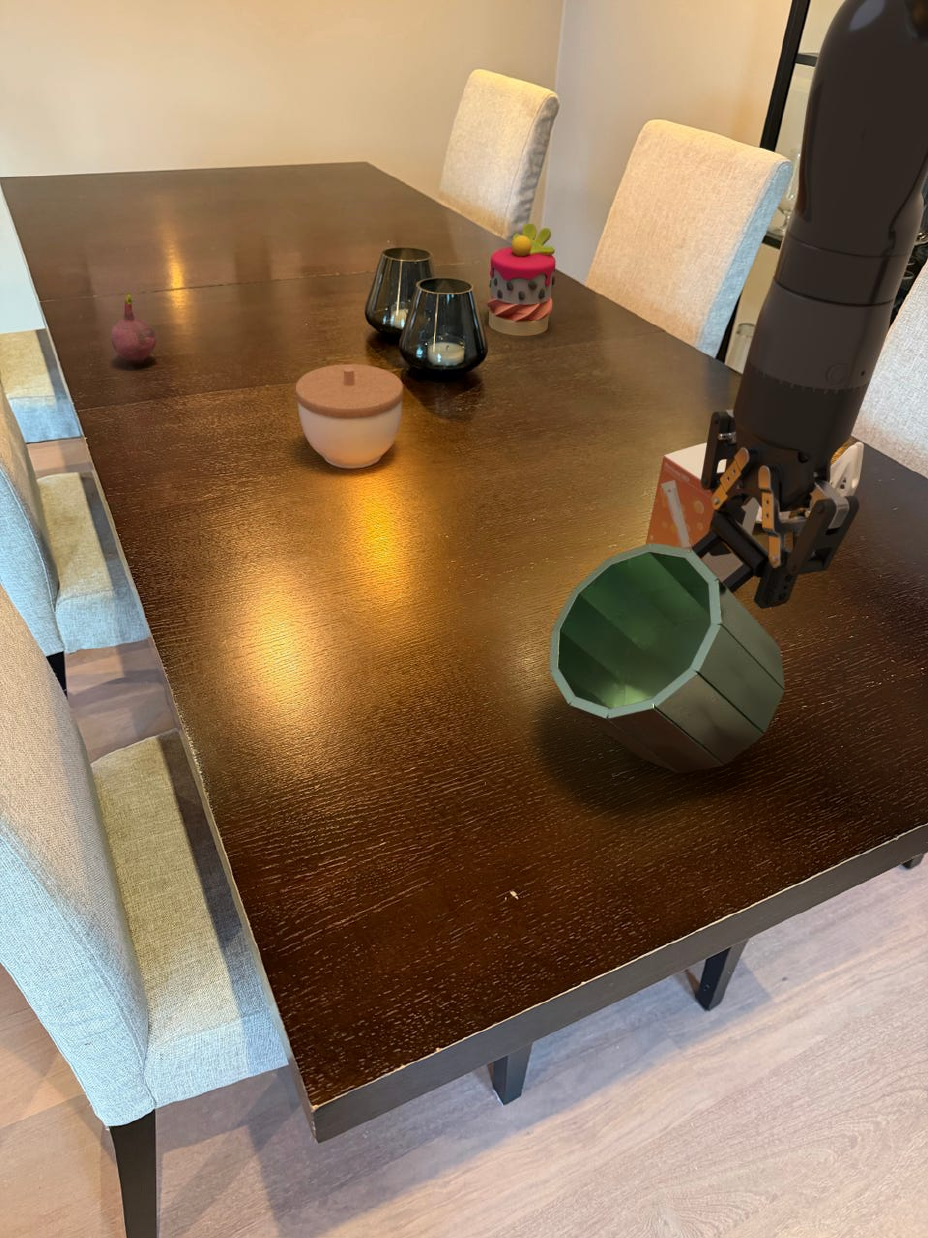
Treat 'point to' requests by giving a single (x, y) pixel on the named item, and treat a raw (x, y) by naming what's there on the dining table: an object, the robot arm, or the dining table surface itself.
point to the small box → (690, 508)
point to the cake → (522, 284)
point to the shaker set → (839, 475)
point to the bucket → (671, 652)
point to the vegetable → (133, 336)
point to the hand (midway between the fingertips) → (742, 576)
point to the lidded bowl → (350, 412)
